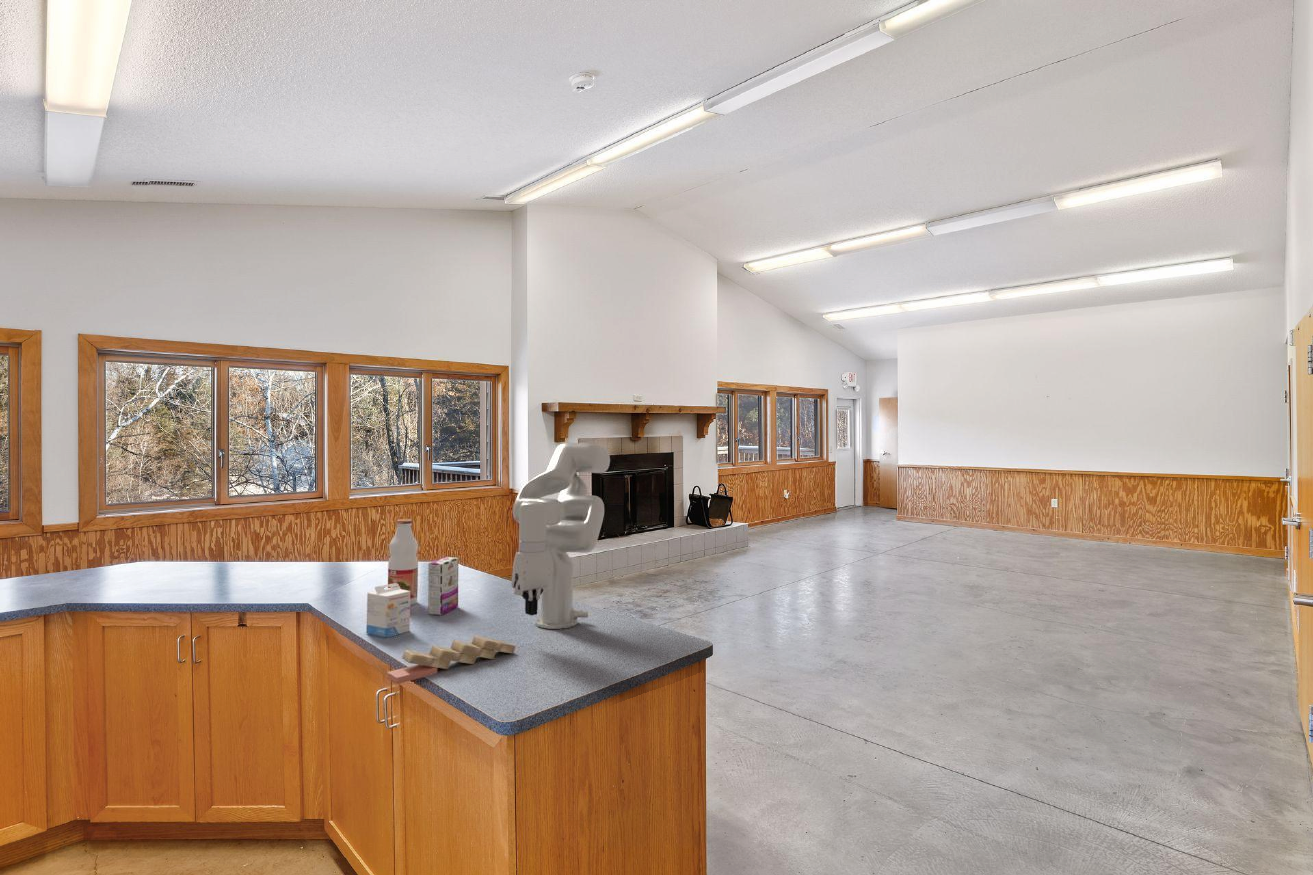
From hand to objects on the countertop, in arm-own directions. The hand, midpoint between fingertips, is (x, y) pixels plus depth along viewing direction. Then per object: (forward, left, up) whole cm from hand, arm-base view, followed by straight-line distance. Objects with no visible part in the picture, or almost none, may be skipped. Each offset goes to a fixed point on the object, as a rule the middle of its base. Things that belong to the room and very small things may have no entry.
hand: (531, 613), depth 184 cm
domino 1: (+21, +14, -7) cm, 26 cm away
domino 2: (+24, +16, -8) cm, 30 cm away
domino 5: (+6, +4, -8) cm, 10 cm away
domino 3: (+15, +11, -8) cm, 20 cm away
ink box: (+40, -18, -9) cm, 44 cm away
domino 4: (+11, +8, -8) cm, 15 cm away
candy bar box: (+27, -40, -9) cm, 49 cm away
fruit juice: (+41, -51, -9) cm, 66 cm away
